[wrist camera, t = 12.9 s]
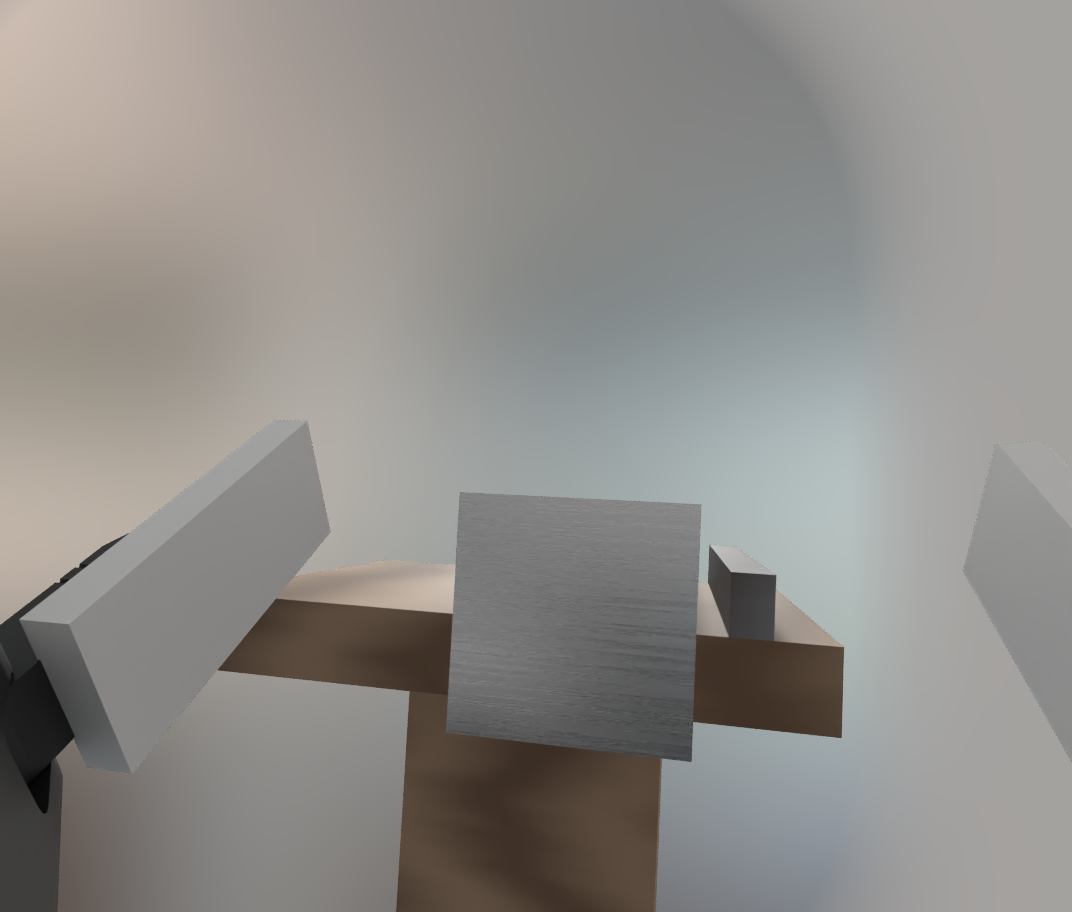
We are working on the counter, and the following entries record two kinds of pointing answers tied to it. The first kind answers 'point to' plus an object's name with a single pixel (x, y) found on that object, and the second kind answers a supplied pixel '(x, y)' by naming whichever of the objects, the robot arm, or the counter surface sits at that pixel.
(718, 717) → the walnut shelf
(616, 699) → the steel bar
